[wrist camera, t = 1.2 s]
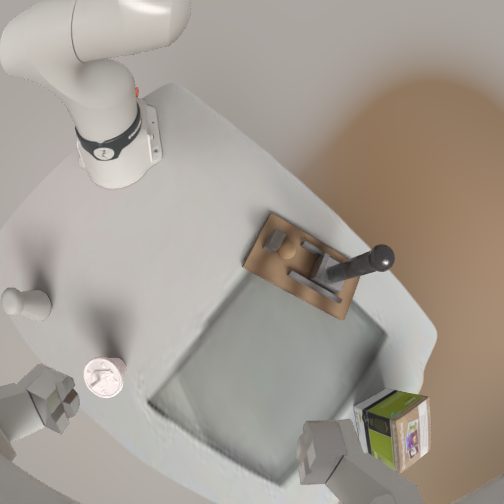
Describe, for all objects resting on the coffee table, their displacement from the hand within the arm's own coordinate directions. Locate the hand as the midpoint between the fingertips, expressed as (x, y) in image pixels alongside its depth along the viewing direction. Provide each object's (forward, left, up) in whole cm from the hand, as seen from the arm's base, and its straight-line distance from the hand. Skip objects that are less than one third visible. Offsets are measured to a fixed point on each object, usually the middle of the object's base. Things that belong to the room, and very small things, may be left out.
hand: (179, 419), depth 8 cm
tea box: (+26, +39, -41) cm, 63 cm away
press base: (-11, +25, -41) cm, 49 cm away
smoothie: (+5, -13, -41) cm, 43 cm away
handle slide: (-9, +28, -39) cm, 49 cm away
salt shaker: (-6, -28, -41) cm, 50 cm away
